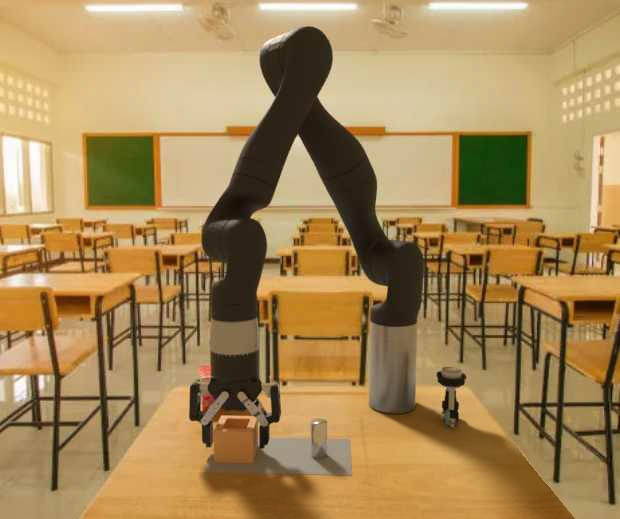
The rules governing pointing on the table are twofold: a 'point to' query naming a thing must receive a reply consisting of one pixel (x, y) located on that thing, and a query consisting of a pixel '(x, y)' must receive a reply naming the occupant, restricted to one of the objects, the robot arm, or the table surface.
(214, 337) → the robot arm
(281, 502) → the table surface
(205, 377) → the red white patterned cube
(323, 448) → the steel post
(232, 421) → the collar
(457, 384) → the push button
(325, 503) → the table surface
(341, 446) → the base plate
